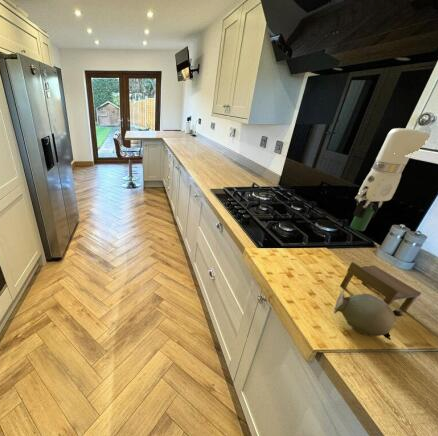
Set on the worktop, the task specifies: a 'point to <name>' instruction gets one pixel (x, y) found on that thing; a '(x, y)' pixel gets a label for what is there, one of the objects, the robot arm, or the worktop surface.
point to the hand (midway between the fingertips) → (363, 215)
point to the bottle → (363, 219)
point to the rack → (382, 284)
